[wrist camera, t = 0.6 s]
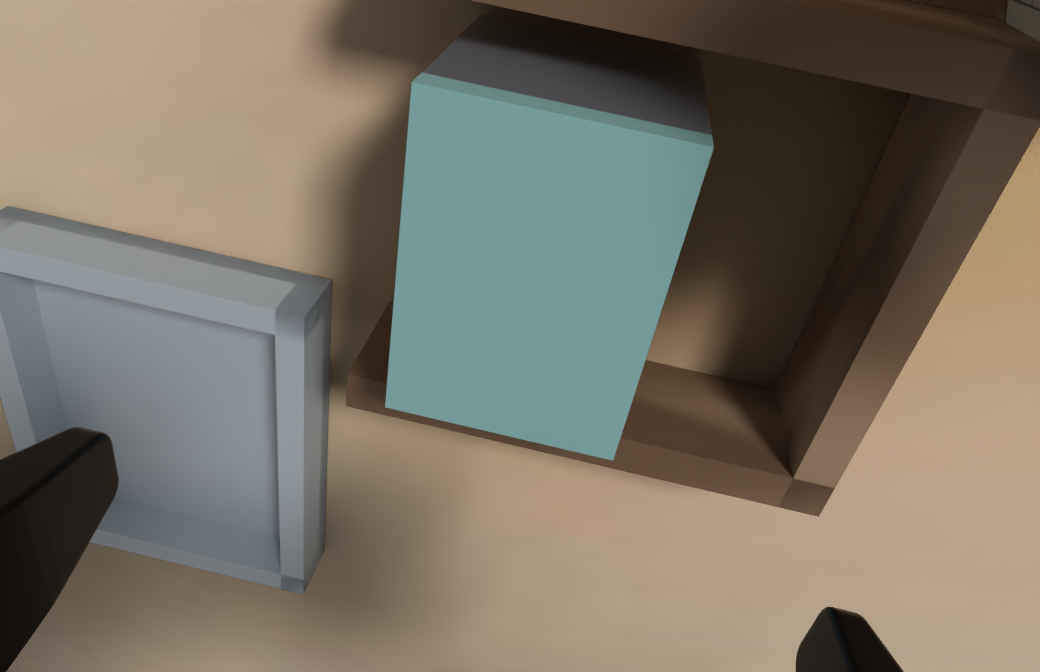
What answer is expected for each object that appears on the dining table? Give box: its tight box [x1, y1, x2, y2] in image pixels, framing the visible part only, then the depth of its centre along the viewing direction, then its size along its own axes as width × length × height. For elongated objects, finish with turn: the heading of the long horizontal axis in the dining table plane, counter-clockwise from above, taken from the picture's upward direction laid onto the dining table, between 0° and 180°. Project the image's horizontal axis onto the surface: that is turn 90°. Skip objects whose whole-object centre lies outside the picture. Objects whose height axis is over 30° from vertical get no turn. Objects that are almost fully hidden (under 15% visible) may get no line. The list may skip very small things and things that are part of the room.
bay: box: [346, 0, 1040, 517], centre depth 17 cm, size 11×12×4 cm
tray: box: [0, 206, 332, 594], centre depth 24 cm, size 12×10×2 cm
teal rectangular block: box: [385, 16, 714, 461], centre depth 17 cm, size 7×5×6 cm
